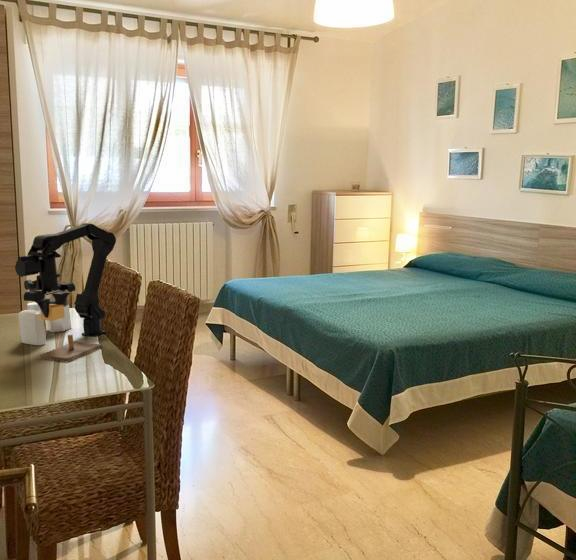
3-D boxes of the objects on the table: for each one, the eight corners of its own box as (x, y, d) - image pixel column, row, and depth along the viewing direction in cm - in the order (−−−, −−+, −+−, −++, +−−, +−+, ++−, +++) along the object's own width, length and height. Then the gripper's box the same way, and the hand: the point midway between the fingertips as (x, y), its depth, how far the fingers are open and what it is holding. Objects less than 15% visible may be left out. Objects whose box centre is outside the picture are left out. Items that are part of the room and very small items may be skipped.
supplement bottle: (40, 339, 223) (36, 305, 220) (24, 339, 224) (20, 305, 222) (50, 334, 229) (47, 301, 227) (35, 334, 231) (31, 301, 228)
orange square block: (53, 315, 217) (51, 303, 216) (64, 317, 215) (63, 304, 214) (41, 319, 212) (40, 307, 211) (53, 320, 210) (51, 308, 209)
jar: (73, 325, 241) (70, 296, 239) (69, 331, 233) (66, 300, 231) (49, 327, 240) (46, 297, 238) (45, 332, 232) (41, 302, 230)
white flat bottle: (19, 343, 219) (15, 310, 217) (29, 340, 223) (25, 307, 221) (38, 346, 214) (34, 312, 212) (48, 343, 218) (44, 310, 216)
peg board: (75, 344, 216) (73, 327, 214) (101, 347, 211) (100, 330, 210) (40, 358, 201) (38, 340, 200) (68, 361, 196) (66, 343, 195)
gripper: (50, 266, 222) (55, 307, 225) (9, 275, 205) (14, 320, 208) (74, 267, 217) (78, 309, 220) (33, 277, 200) (38, 322, 203)
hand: (52, 315), depth 213 cm, fingers closed on orange square block, 5 cm apart
